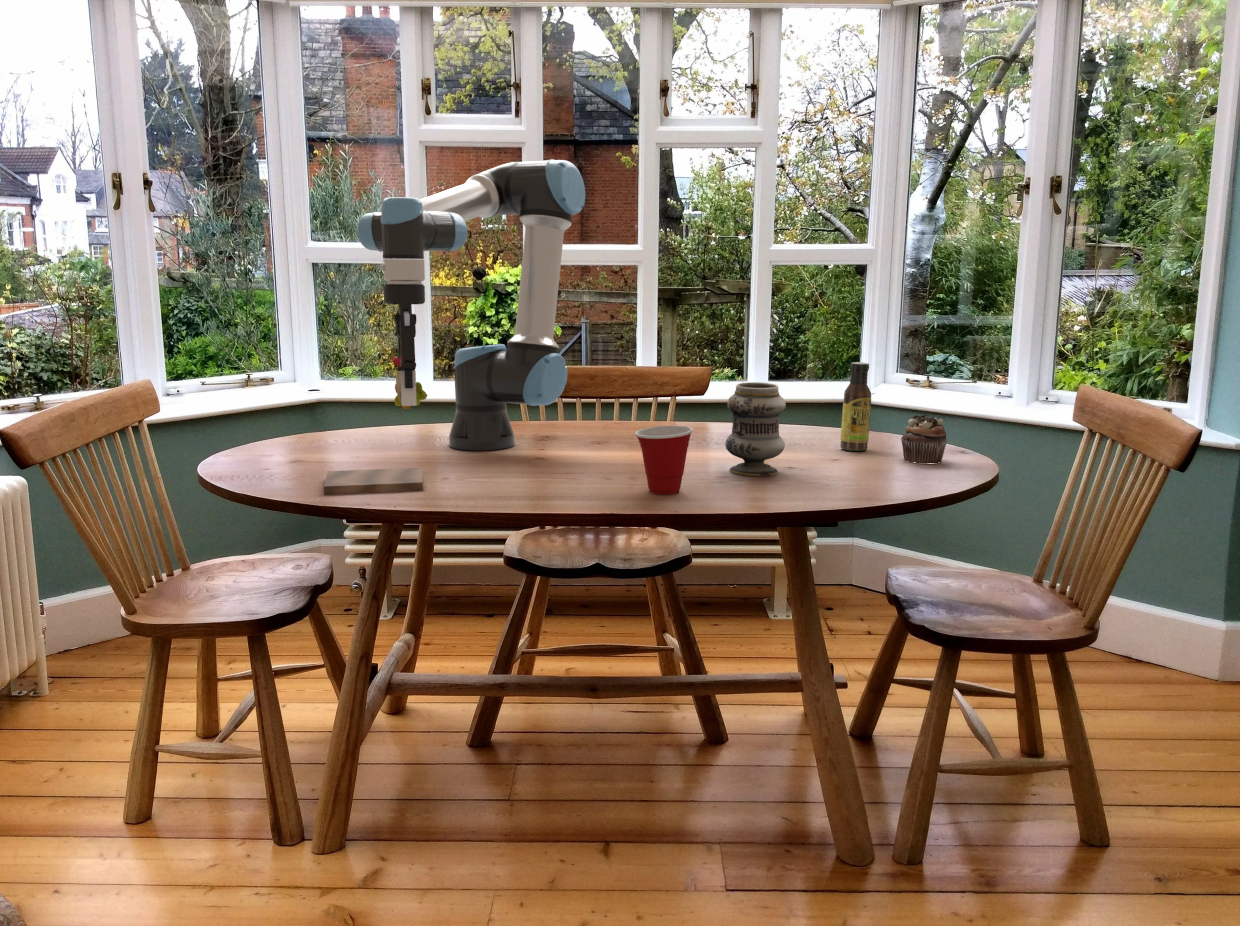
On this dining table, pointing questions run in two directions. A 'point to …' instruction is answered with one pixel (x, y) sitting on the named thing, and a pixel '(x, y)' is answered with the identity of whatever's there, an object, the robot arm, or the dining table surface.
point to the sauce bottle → (856, 410)
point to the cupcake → (924, 440)
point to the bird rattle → (419, 391)
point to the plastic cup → (664, 456)
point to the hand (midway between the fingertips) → (407, 402)
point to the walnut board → (373, 481)
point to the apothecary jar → (755, 427)
